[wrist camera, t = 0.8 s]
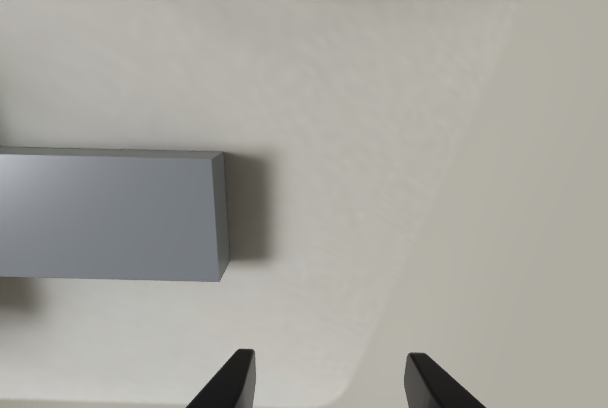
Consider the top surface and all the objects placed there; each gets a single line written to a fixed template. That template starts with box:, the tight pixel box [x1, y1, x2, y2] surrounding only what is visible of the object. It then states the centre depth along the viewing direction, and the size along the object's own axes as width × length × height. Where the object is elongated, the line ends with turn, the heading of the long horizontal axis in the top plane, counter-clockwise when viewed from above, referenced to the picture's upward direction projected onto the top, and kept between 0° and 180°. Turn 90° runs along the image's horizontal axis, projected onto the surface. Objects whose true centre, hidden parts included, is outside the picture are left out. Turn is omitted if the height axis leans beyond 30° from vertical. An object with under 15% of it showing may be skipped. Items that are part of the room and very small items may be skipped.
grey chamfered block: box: [0, 147, 230, 282], centre depth 19 cm, size 16×7×2 cm, turn 89°
